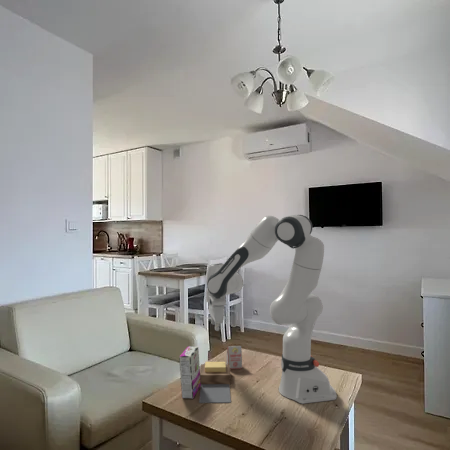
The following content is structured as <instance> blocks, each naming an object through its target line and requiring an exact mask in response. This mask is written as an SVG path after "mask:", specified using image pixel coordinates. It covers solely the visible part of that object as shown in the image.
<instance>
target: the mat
mask: <svg viewBox="0 0 450 450" xmlns="http://www.w3.org/2000/svg"><path fill="white" fill-rule="evenodd" d="M199 389H200V391H199V400H198V403H199V404H223V403H224V404H232V400H231V398H232V397H231V385H229V384H201V386H200V388H199Z"/></svg>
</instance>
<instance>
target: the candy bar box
mask: <svg viewBox="0 0 450 450" xmlns="http://www.w3.org/2000/svg"><path fill="white" fill-rule="evenodd" d="M178 359H179V371H180V374H179V375H180V385H181V386H180V387H181V388H180V389H181V398H182V399H187V400H188V399H192V400H193V399H194V398H195V396H196V395H197V393H198V392H199V389H201V379H200V370H201V365H200V354H199V346H193V345H191V346H190V345H189V346H187V347H186V348H185V349H184V350H183V352H182V353H181V354H180V355H179V357H178Z"/></svg>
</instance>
